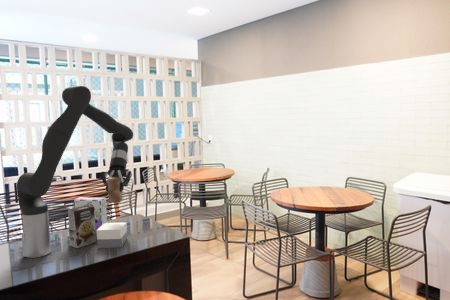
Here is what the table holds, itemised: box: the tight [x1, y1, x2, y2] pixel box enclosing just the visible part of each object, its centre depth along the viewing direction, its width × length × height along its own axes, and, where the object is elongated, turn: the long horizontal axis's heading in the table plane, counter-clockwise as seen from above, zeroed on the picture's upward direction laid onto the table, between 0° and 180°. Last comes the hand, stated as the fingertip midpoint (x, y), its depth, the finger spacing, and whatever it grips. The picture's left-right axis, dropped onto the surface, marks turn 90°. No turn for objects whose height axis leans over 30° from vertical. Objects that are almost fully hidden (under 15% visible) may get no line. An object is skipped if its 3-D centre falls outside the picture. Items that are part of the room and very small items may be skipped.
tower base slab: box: [96, 232, 128, 249], centre depth 154 cm, size 10×10×4 cm
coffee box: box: [67, 205, 97, 249], centre depth 153 cm, size 9×6×16 cm
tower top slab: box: [96, 222, 128, 241], centre depth 153 cm, size 10×10×4 cm
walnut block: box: [106, 176, 123, 204], centre depth 161 cm, size 5×5×11 cm
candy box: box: [73, 196, 108, 235], centre depth 169 cm, size 14×6×16 cm, turn 81°
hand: (114, 191), depth 159 cm, fingers closed on walnut block, 5 cm apart
